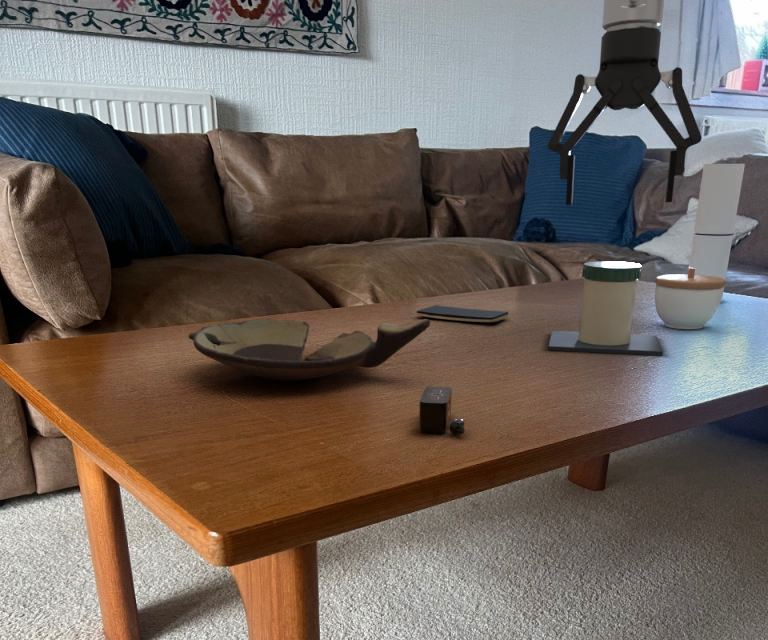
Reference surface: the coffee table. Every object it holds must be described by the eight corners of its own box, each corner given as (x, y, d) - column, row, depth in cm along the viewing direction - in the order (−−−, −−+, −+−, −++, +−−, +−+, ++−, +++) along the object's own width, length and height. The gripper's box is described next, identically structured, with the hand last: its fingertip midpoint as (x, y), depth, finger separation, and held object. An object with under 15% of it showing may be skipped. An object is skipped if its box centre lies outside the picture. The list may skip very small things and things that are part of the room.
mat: (656, 339, 121) (656, 335, 121) (662, 355, 111) (663, 351, 111) (551, 334, 125) (551, 330, 125) (548, 350, 114) (548, 346, 114)
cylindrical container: (679, 301, 155) (699, 163, 145) (689, 296, 161) (709, 163, 151) (716, 304, 152) (740, 163, 142) (725, 299, 157) (748, 163, 147)
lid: (638, 274, 117) (640, 262, 116) (641, 281, 109) (643, 268, 109) (582, 273, 118) (583, 260, 118) (581, 280, 111) (583, 267, 110)
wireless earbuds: (417, 436, 78) (417, 404, 77) (425, 415, 84) (426, 386, 83) (463, 438, 77) (465, 406, 76) (468, 417, 84) (470, 387, 82)
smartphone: (434, 305, 144) (510, 311, 137) (434, 311, 145) (509, 318, 137) (415, 310, 138) (492, 318, 131) (415, 317, 139) (492, 325, 132)
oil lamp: (270, 347, 116) (267, 295, 113) (447, 374, 101) (448, 313, 98) (154, 379, 99) (147, 318, 96) (346, 416, 84) (344, 345, 81)
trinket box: (655, 318, 138) (662, 263, 134) (720, 323, 133) (729, 266, 130) (645, 329, 129) (652, 270, 125) (714, 334, 125) (724, 273, 121)
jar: (628, 336, 120) (637, 266, 116) (631, 346, 113) (640, 272, 109) (578, 334, 122) (585, 265, 118) (577, 344, 115) (584, 271, 111)
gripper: (532, 33, 103) (526, 206, 111) (737, 16, 96) (714, 201, 104) (538, 42, 109) (532, 204, 118) (730, 26, 103) (709, 199, 111)
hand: (618, 203), depth 111 cm, fingers open, 13 cm apart
